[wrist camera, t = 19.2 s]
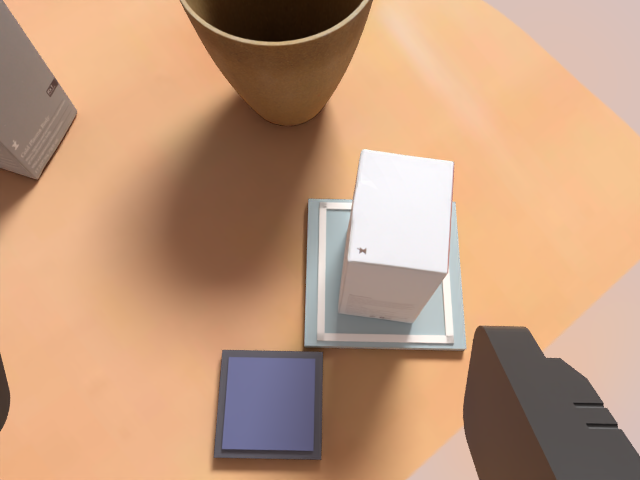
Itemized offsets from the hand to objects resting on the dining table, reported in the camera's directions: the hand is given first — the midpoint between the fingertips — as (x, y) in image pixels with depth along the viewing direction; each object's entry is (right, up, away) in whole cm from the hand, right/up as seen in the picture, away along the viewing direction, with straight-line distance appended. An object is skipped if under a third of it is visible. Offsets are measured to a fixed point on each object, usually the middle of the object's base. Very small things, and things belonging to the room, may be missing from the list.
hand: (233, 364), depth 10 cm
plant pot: (-2, +16, +46) cm, 49 cm away
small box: (+6, -1, +38) cm, 39 cm away
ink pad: (-2, -11, +35) cm, 37 cm away
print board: (+7, -1, +39) cm, 40 cm away
